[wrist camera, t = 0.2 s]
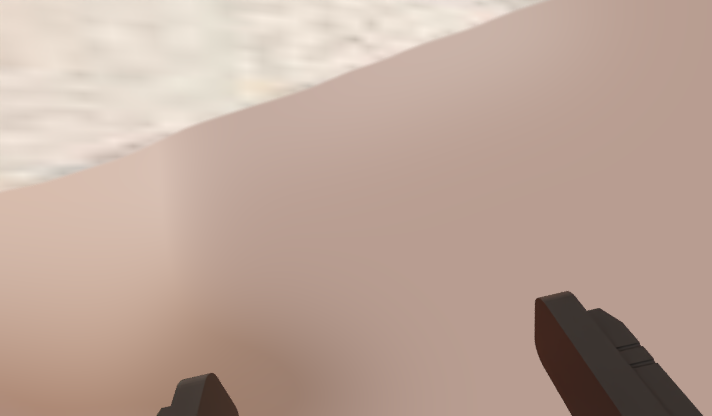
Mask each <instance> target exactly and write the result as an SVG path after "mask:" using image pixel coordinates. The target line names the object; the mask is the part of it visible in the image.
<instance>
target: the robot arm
mask: <svg viewBox="0 0 712 416" xmlns="http://www.w3.org/2000/svg"><path fill="white" fill-rule="evenodd" d="M535 345H536V349H537V353H538V355H539V358H540V360H541V362H542V365H543V366H544V368H545V370H546V372H547V373H548V375H549V377H550V379H551V380H552V382H553V384H554V385H555V387H556V389H557V391H558V392H559V394H560V396H561V398H562V399H563V401H564V403H565V404H566V406H567V408H568V410H569V411H570V413H571V415H572V416H703V415H702V414H701V413H700V412H699V411H698V409H697V408H696V407H695V406H694V405H693V403H692V402H691V401H690V400H689V399H688V398H687V397H686V395H685V394H684V393H683V392H682V391H681V390H680V389H679V387H678V386H677V385H676V384H675V383H674V382H673V380H672V379H671V378H670V377H669V376H668V375H667V373H666V372H665V371H664V370H663V369H662V368H661V366H660V365H659V364H658V363H655V362H654V359H653V357H652V356H651V355H650V354H649V353H648V351H647V350H646V349H645V348H644V347H643V346H641V345H640V343H639V341H638V340H637V339H636V338H635V336H634V335H633V334H632V333H631V332H630V331H629V329H628V328H627V327H626V326H625V325H624V324H623V323H622V322H621V321H619V320H618V319H616V318H614V317H613V316H611V315H610V314H608V313H606V312H605V311H603V310H602V309H600V308H597V309H593V310H589V311H586V309H585V308H584V307H583V306H582V304H581V303H580V302H579V301H578V299H577V298H576V297H575V296H574V295H573V294H572V293H571V292H569V291H566V292H561V293H557V294H553V295H548V296H544V297H540V298H537V299H536V300H535ZM157 416H239V415H238V411H237V409H236V406H235V405H234V403H233V402H232V400H231V398H230V397H229V395H228V394H227V392H226V390H225V389H224V387H223V386H222V384H221V382H220V381H219V379H218V378H217V376H216V375H215V374H214V373H210V374H205V375H200V376H197V377H192V378H188V379H184V380H181V381H180V382H179V384H178V385H177V388H176V391H175V394H174V397H173V400H172V404H171V406H169V407H165V408H161V410H160V411H159V413H158V414H157Z"/></svg>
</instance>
